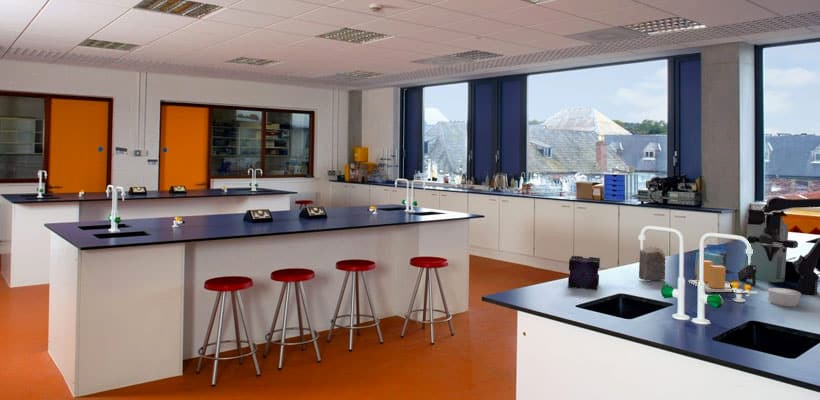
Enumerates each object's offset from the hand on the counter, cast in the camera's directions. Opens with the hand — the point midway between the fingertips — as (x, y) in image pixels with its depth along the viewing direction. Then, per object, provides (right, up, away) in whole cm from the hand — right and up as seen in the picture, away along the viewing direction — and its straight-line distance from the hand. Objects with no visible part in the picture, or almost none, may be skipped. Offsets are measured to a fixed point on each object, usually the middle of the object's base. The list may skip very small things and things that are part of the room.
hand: (770, 261), depth 271 cm
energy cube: (-82, -11, -1) cm, 83 cm away
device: (+11, -11, +25) cm, 29 cm away
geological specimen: (-47, -10, +15) cm, 50 cm away
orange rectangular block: (-26, -11, -4) cm, 28 cm away
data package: (-17, -11, +22) cm, 30 cm away
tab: (-26, -10, +7) cm, 28 cm away
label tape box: (-1, -9, +47) cm, 48 cm away
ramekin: (-9, -15, -24) cm, 30 cm away
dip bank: (-23, -12, +2) cm, 26 cm away
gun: (-2, -12, +15) cm, 19 cm away
